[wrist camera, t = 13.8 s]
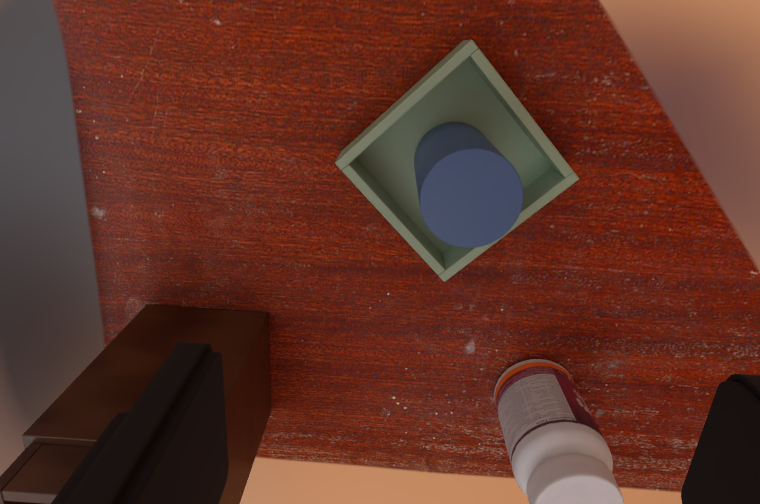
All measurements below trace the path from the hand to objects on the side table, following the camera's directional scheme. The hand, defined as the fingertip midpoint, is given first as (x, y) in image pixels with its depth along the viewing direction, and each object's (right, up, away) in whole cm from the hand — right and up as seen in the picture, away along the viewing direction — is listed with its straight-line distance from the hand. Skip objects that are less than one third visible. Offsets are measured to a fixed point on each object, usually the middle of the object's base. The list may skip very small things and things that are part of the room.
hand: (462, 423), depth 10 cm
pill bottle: (+10, -7, +31) cm, 33 cm away
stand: (-15, -5, +31) cm, 34 cm away
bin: (+3, +9, +24) cm, 26 cm away
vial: (+3, +9, +24) cm, 26 cm away
